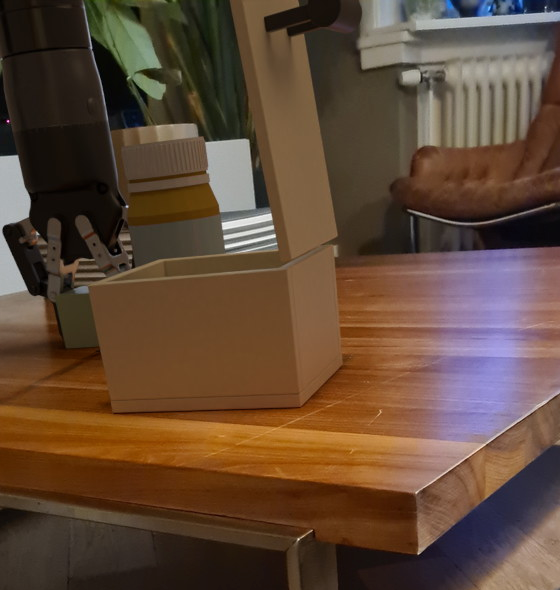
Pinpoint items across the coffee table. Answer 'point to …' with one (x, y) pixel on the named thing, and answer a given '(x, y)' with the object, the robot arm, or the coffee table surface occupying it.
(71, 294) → the block
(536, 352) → the coffee table surface
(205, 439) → the coffee table surface
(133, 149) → the bottle
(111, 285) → the tan open box
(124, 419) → the coffee table surface
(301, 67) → the lid
